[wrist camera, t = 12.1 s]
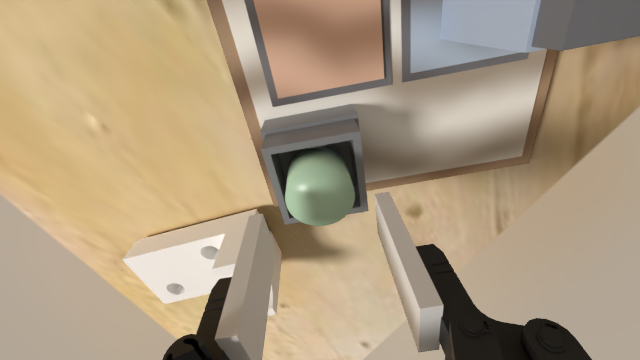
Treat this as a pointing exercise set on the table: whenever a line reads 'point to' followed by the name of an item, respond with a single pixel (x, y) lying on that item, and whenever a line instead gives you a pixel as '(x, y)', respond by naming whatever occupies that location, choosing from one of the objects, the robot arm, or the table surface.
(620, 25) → the grey square prism
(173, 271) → the bracket
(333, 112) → the button housing
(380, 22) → the wood rimmed sorting board
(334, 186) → the button
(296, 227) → the table surface
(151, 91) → the table surface
